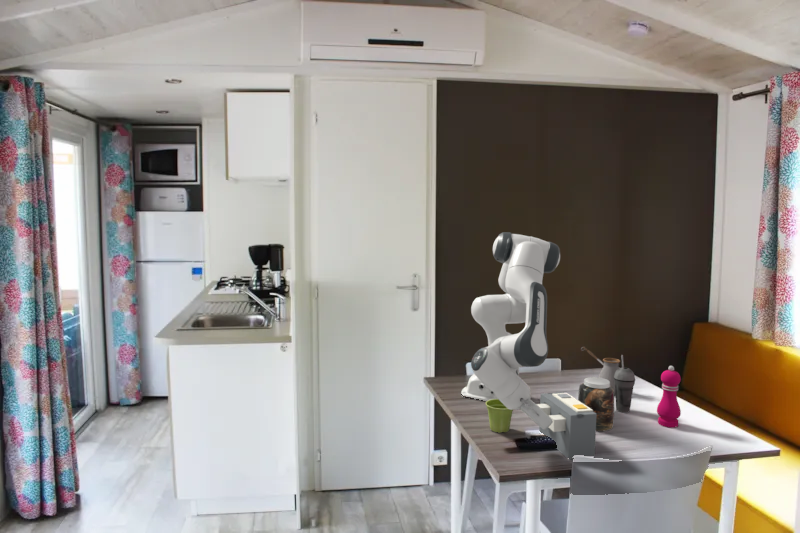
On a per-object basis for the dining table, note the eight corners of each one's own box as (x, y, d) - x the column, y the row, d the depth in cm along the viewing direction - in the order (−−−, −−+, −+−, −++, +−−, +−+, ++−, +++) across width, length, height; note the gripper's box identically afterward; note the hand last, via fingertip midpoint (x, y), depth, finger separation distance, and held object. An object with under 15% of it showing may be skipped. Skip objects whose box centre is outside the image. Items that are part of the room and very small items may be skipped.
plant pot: (507, 437, 188) (508, 410, 187) (480, 431, 193) (480, 404, 192) (518, 428, 196) (519, 402, 195) (491, 422, 201) (492, 397, 200)
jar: (569, 420, 203) (571, 377, 201) (596, 416, 207) (598, 374, 206) (593, 433, 192) (595, 387, 190) (621, 428, 197) (623, 383, 195)
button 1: (538, 419, 183) (539, 408, 183) (533, 415, 187) (534, 404, 186) (554, 418, 184) (554, 407, 184) (548, 414, 188) (549, 403, 187)
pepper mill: (669, 429, 196) (673, 369, 194) (651, 422, 202) (654, 364, 200) (684, 426, 199) (688, 367, 197) (666, 419, 205) (669, 362, 203)
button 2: (553, 431, 174) (554, 419, 173) (548, 427, 177) (548, 415, 177) (569, 430, 175) (570, 418, 174) (563, 426, 178) (564, 414, 178)
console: (569, 459, 172) (570, 413, 171) (539, 433, 191) (540, 391, 190) (594, 457, 174) (596, 411, 172) (562, 431, 193) (564, 390, 192)
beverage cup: (635, 414, 209) (638, 358, 207) (613, 413, 211) (616, 357, 209) (631, 407, 216) (634, 353, 214) (610, 406, 218) (613, 352, 216)
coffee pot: (632, 394, 232) (634, 356, 230) (610, 398, 227) (612, 359, 225) (590, 379, 251) (592, 344, 249) (570, 383, 245) (571, 347, 244)
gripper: (537, 397, 162) (569, 430, 165) (509, 375, 182) (538, 405, 185) (521, 414, 162) (553, 446, 165) (494, 390, 182) (523, 420, 185)
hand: (545, 424), depth 175 cm, fingers closed
